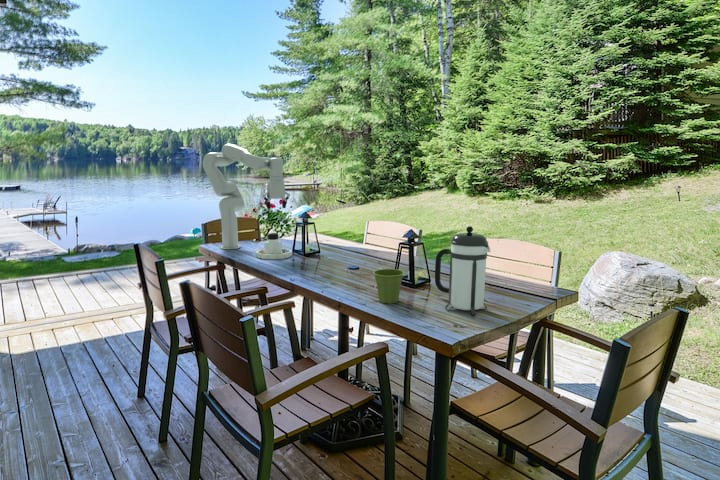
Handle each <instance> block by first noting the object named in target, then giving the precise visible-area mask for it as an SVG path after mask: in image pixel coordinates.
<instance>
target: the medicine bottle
mask: <svg viewBox="0 0 720 480" xmlns="http://www.w3.org/2000/svg"><path fill="white" fill-rule="evenodd" d="M263 245H264V248H263V249H265V254H270V253H273V254H278V253H281V254H282V248H283V241H280V240H279V233H277V232H270V233H267V240H266V241H264V244H263Z"/></svg>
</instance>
